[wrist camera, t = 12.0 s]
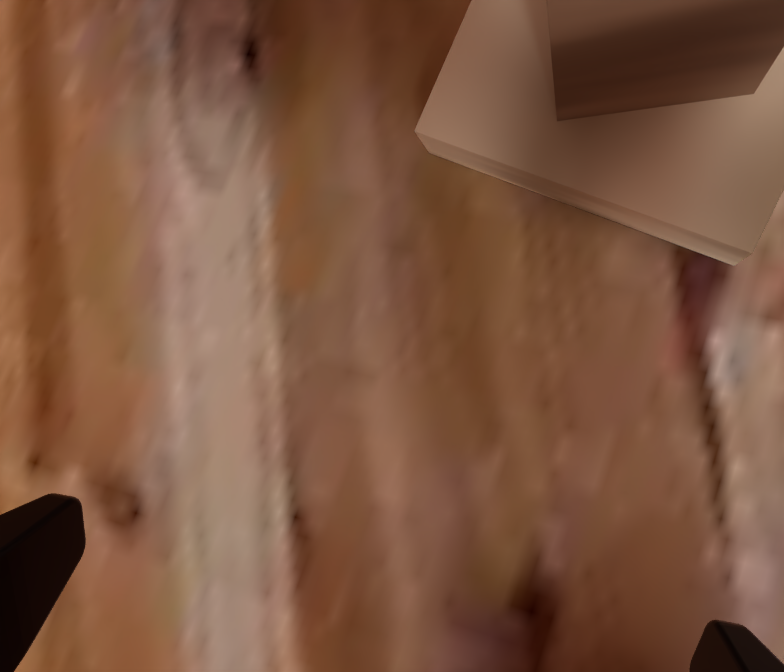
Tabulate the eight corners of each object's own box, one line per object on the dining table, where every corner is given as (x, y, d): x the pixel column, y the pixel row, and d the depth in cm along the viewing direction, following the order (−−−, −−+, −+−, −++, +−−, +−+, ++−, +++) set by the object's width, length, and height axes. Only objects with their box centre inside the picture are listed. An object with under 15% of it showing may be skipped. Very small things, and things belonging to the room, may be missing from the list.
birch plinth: (894, -65, 17) (933, -118, 16) (734, 265, 18) (752, 253, 16) (556, -136, 20) (553, -188, 18) (429, 153, 21) (414, 131, 19)
